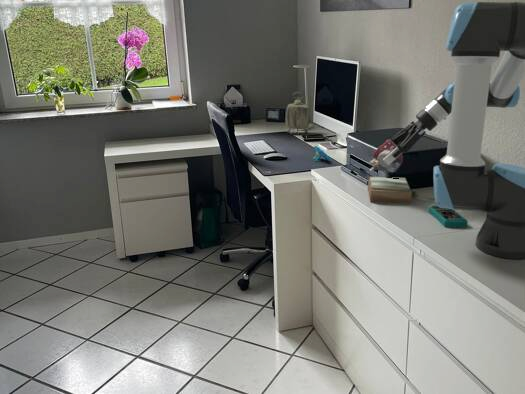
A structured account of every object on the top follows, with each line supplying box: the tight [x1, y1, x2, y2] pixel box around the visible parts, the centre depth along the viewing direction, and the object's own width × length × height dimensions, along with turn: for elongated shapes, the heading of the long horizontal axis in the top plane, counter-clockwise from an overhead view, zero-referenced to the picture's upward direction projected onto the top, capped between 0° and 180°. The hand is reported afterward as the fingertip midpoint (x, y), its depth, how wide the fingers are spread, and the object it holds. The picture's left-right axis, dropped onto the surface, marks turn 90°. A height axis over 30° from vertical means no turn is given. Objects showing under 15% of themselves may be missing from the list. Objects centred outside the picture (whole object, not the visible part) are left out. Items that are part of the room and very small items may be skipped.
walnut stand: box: [367, 176, 413, 205], centre depth 186 cm, size 18×14×5 cm
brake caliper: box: [369, 139, 404, 173], centre depth 183 cm, size 11×11×12 cm
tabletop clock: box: [285, 91, 311, 135], centre depth 301 cm, size 14×9×25 cm, turn 84°
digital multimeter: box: [428, 205, 468, 228], centre depth 163 cm, size 7×15×3 cm, turn 3°
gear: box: [312, 145, 331, 162], centre depth 238 cm, size 11×6×10 cm
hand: (383, 158), depth 183 cm, fingers closed on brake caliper, 10 cm apart
